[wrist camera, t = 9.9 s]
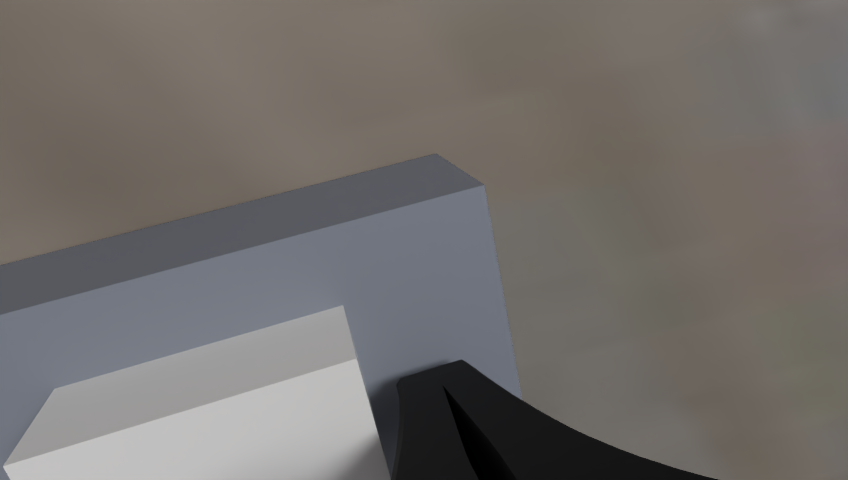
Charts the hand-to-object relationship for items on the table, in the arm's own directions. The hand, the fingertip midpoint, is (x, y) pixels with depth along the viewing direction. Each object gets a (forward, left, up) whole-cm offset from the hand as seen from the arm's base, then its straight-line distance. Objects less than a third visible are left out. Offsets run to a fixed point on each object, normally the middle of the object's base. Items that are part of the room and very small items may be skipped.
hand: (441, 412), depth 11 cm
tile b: (0, +4, 0) cm, 4 cm away
